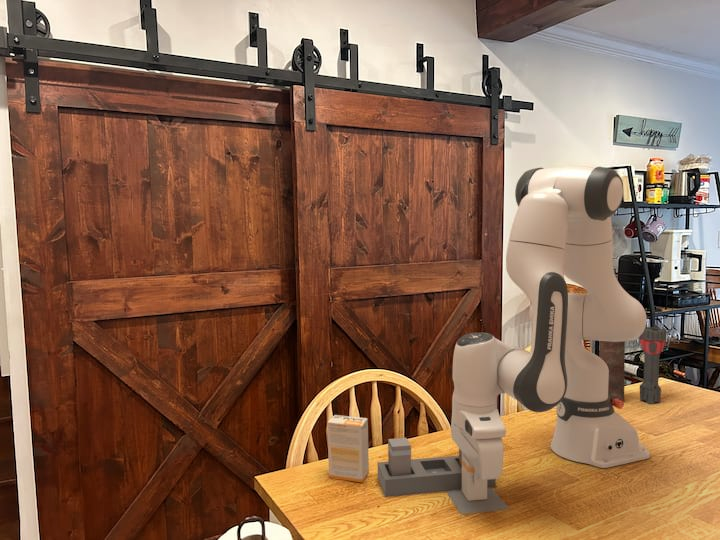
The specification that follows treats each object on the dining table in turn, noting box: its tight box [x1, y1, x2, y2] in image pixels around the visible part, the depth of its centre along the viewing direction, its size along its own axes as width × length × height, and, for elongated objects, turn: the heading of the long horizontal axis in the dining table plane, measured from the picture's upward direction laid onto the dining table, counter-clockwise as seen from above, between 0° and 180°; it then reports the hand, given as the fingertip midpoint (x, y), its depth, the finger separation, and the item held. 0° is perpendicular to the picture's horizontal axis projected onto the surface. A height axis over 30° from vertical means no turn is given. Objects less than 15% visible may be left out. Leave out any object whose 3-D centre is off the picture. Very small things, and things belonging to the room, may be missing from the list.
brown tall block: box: [598, 341, 626, 403], centre depth 165 cm, size 8×7×20 cm
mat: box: [445, 487, 510, 515], centre depth 107 cm, size 10×10×1 cm
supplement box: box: [326, 414, 370, 484], centre depth 118 cm, size 8×5×13 cm, turn 71°
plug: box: [461, 454, 487, 501], centre depth 108 cm, size 4×4×8 cm
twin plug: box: [387, 437, 412, 476], centre depth 113 cm, size 4×4×8 cm
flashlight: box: [637, 325, 667, 405], centre depth 165 cm, size 8×8×23 cm
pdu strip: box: [377, 454, 497, 498], centre depth 114 cm, size 24×8×4 cm, turn 99°
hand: (473, 479), depth 108 cm, fingers closed on plug, 4 cm apart
